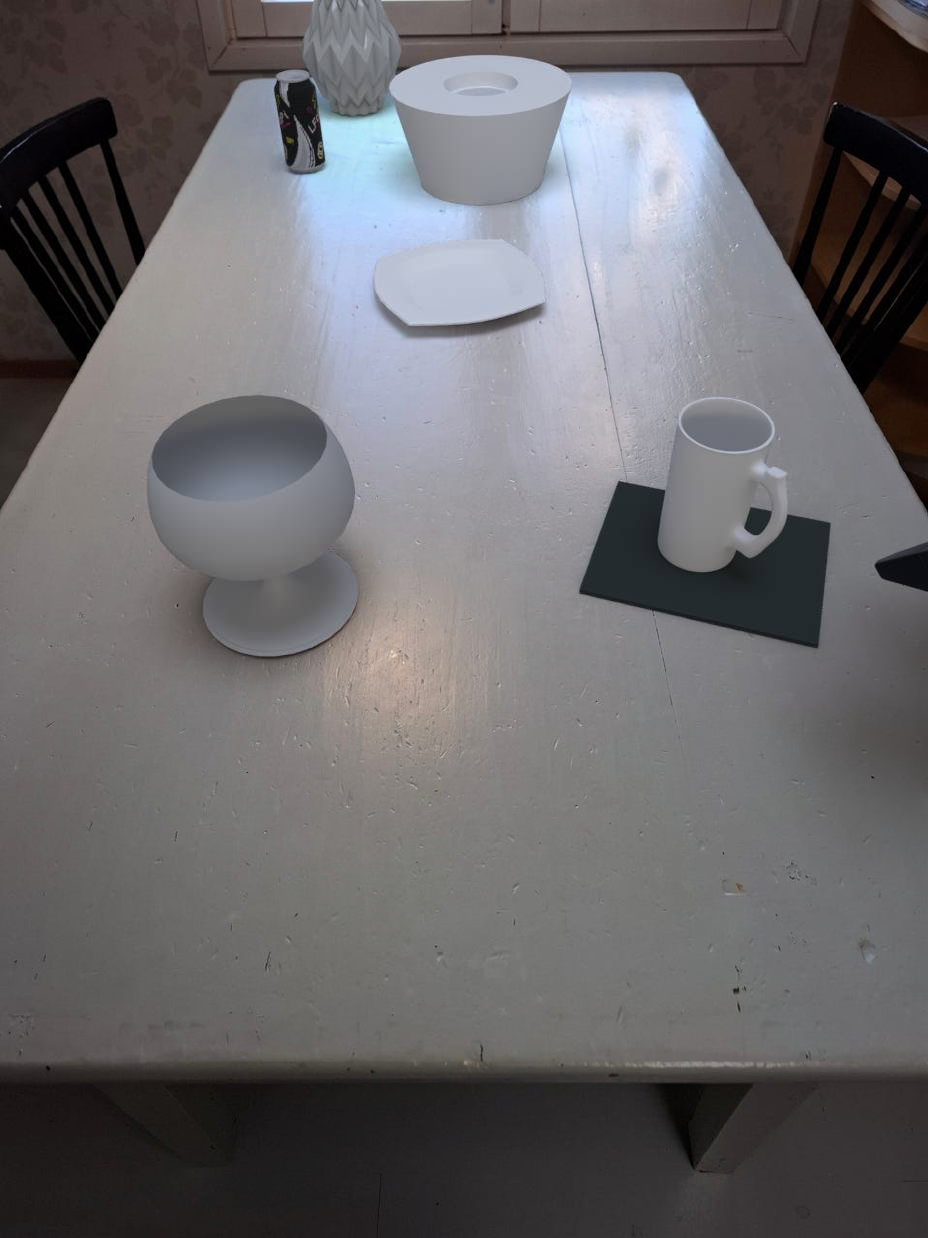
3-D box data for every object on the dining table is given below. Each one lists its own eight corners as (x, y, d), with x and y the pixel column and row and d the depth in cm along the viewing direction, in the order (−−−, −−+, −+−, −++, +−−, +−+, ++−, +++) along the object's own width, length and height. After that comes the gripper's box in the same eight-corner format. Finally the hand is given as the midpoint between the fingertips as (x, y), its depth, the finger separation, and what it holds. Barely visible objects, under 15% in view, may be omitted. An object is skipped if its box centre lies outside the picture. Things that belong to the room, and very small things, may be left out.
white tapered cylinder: (568, 148, 128) (574, 55, 119) (563, 217, 112) (570, 116, 103) (410, 145, 130) (404, 54, 121) (383, 213, 114) (374, 114, 105)
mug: (636, 540, 70) (658, 418, 61) (694, 507, 73) (722, 385, 64) (729, 613, 65) (768, 490, 56) (788, 574, 67) (834, 451, 58)
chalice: (407, 600, 67) (389, 444, 56) (258, 701, 61) (205, 549, 50) (301, 516, 74) (267, 362, 63) (158, 599, 68) (92, 445, 56)
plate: (566, 321, 95) (567, 304, 93) (396, 350, 91) (395, 334, 90) (511, 245, 107) (511, 230, 105) (360, 269, 104) (358, 253, 102)
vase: (411, 121, 137) (402, -21, 123) (308, 129, 135) (288, -13, 122) (402, 88, 147) (393, -46, 134) (307, 95, 146) (288, -39, 132)
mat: (829, 526, 72) (830, 522, 71) (817, 648, 63) (818, 644, 63) (618, 484, 76) (618, 480, 76) (579, 592, 67) (579, 589, 67)
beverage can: (316, 176, 123) (302, 82, 114) (280, 173, 124) (264, 79, 115) (332, 161, 126) (320, 68, 117) (297, 158, 128) (282, 66, 119)
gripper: (1217, 214, 41) (907, 345, 54) (1120, 387, 32) (773, 496, 45) (1297, 410, 44) (981, 491, 57) (1228, 624, 34) (869, 662, 47)
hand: (908, 527), depth 51 cm, fingers open, 9 cm apart
